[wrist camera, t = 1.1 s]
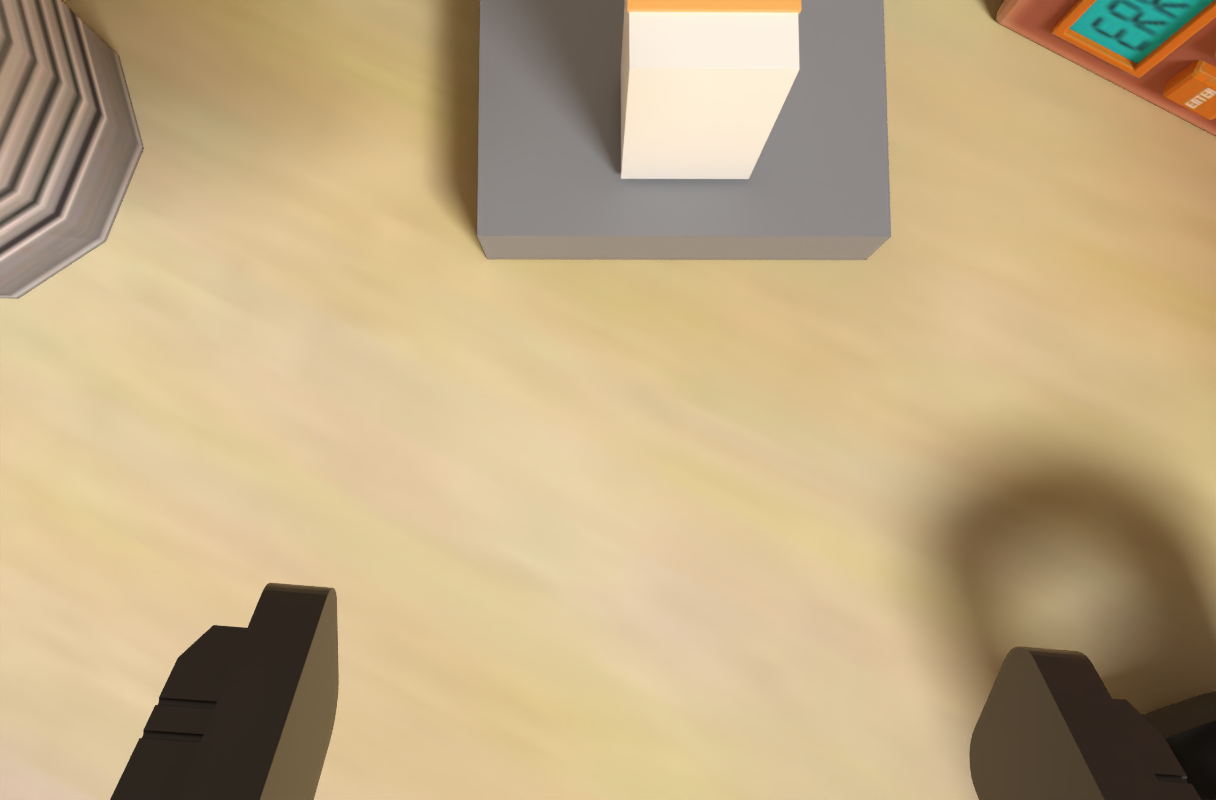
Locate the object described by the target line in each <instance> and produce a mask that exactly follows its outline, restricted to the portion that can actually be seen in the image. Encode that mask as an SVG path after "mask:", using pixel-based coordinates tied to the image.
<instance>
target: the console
mask: <svg viewBox="0 0 1216 800" xmlns="http://www.w3.org/2000/svg"><path fill="white" fill-rule="evenodd" d="M624 5H625V0H480V45H479V125H478V204H477V237H478V239H479V241H480V244H481V246H482V248H483V251H484V253H485V255H486V258H487V259H661V260H866V259H867V258H868V257H869V256H871V255H872V254H873V253H874V252H875V251H876V250H877V249H878V248H879V247H880V246H881V245H882V244H883V243H885V242H886V241H887V240H888V239H889V238H890V237H891V221H890V190H889V159H888V128H887V97H886V66H885V35H884V4H883V0H801V6H802V10H801V12H800V14H798V25H799V71H798V74H797V76H796V78H795V80H794V82H793V84H792V87H791V89H790V91H789V93H788V95H787V97H786V100H785V102H784V104H783V106H782V108H781V110H780V113H779V115H778V117H777V119H776V121H775V123H774V126H773V128H772V130H771V132H770V134H769V136H768V138H767V141H766V143H765V145H764V147H763V149H762V151H761V154H760V156H759V158H758V160H757V162H756V164H755V167H754V169H753V171H752V173H751V175H750V177H749V179H621V56H622V39H623V22H624Z"/></svg>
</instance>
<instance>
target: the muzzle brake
mask: <svg viewBox="0 0 1216 800" xmlns="http://www.w3.org/2000/svg"><path fill="white" fill-rule="evenodd" d="M1143 717H1144V718H1145V719H1146V720H1147V721H1148V722H1149V723H1150V724H1151V725H1152V726H1153V727H1154V728H1156V729H1157V730H1158V731H1159V732H1160V733H1161V734H1162V735H1163V736H1164V738H1165V740H1166V741H1167V743H1168V745H1169V746H1170V748H1171V750H1172V751H1173V753H1174V755H1175V756H1176V758H1177V760H1178V761H1179V763H1180V765H1181V766H1182V768H1183V770H1184V771H1185V773H1186V775H1187V783H1188V784H1192V785H1193V787H1194V788H1195V790H1196V792H1197V793H1198V795H1199V797H1200V798H1201V800H1216V691H1215V692H1211V693H1207V694H1203V695H1199V696H1196V697H1193V698H1190V699H1188V700H1185V701H1182V702H1179V703H1176V704H1174V705H1171V706H1168V707H1165V708H1162V709H1160V710H1157V711H1154V712H1151V713H1148V714H1146V715H1144V716H1143Z"/></svg>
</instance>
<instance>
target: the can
mask: <svg viewBox="0 0 1216 800" xmlns="http://www.w3.org/2000/svg"><path fill="white" fill-rule="evenodd" d="M143 149H144V147H143V143H142V140H141V136H140V132H139V129H138V125H137V121H136V117H135V114H134V110H133V106H132V102H131V99H130V95H129V91H128V88H127V84H126V80H125V76H124V73H123V69H122V65H121V61H120V58H119V56H118V55H117V54H116V53H115V52H114V51H113V50H112V49H111V48H110V47H109V46H108V45H107V44H106V43H105V42H104V41H103V40H102V39H101V38H100V37H99V36H98V35H97V34H95V33H94V32H93V31H92V30H91V29H90V28H89V27H88V26H87V25H86V24H85V23H84V22H83V21H82V20H81V19H80V18H79V17H78V16H77V15H76V14H75V13H74V12H73V11H72V10H70V9H69V8H68V7H67V6H66V5H65V4H64V3H63V2H62V1H61V0H0V298H20V297H21V296H23V295H25V294H26V293H28V292H29V291H31V290H32V289H34V288H35V287H37V286H38V285H40V284H41V283H43V282H44V281H46V280H47V279H49V278H51V277H52V276H54V275H55V274H57V273H58V272H60V271H61V270H63V269H64V268H66V267H67V266H69V265H70V264H72V263H73V262H75V261H77V260H78V259H80V258H81V257H83V256H84V255H86V254H87V253H89V252H90V251H92V250H93V249H95V248H96V247H98V246H99V245H101V244H103V243H104V242H106V240H107V237H108V235H109V233H110V230H111V228H112V225H113V223H114V220H115V218H116V215H117V213H118V210H119V208H120V206H121V203H122V201H123V198H124V196H125V193H126V191H127V188H128V186H129V183H130V181H131V179H132V176H133V174H134V171H135V169H136V166H137V164H138V161H139V159H140V157H141V154H142V152H143Z"/></svg>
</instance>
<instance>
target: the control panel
mask: <svg viewBox="0 0 1216 800" xmlns="http://www.w3.org/2000/svg"><path fill="white" fill-rule="evenodd" d="M996 21H997V22H998V23H999V24H1001V25H1003V26H1005V27H1007V28H1009V29H1011V30H1012V31H1014V32H1016V33H1018V34H1020V35H1022V36H1024V37H1026V38H1028V39H1030V40H1032V41H1034V42H1036V43H1037V44H1039V45H1041V46H1043V47H1045V48H1047V49H1049V50H1051V51H1053V52H1055V53H1057V54H1059V55H1061V56H1062V57H1064V58H1066V59H1068V60H1070V61H1072V62H1074V63H1076V64H1078V65H1080V66H1082V67H1084V68H1086V69H1087V70H1089V71H1091V72H1093V73H1095V74H1097V75H1099V76H1101V77H1103V78H1105V79H1107V80H1109V81H1111V82H1113V83H1114V84H1116V85H1118V86H1120V87H1122V88H1124V89H1126V90H1128V91H1130V92H1132V93H1134V94H1136V95H1138V96H1139V97H1141V98H1143V99H1145V100H1147V101H1149V102H1151V103H1153V104H1155V105H1157V106H1159V107H1161V108H1163V109H1164V110H1166V111H1168V112H1170V113H1172V114H1174V115H1176V116H1178V117H1180V118H1182V119H1184V120H1186V121H1188V122H1189V123H1191V124H1193V125H1195V126H1197V127H1199V128H1201V129H1203V130H1205V131H1207V132H1209V133H1211V134H1213V135H1214V136H1216V0H1003V2H1002V4H1001V6H1000V8H999V10H998V12H997V18H996Z"/></svg>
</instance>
